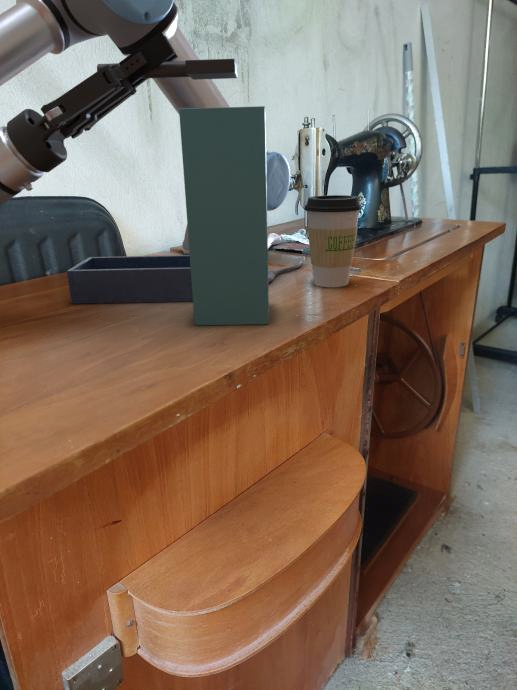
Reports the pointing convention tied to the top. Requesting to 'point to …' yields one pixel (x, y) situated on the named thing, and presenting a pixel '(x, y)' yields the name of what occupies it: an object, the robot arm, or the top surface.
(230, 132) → the teal stand
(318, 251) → the coffee cup
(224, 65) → the black spatula
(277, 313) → the top surface
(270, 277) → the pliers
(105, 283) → the tray
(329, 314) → the top surface
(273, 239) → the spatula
